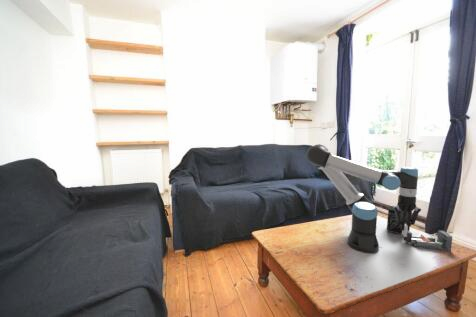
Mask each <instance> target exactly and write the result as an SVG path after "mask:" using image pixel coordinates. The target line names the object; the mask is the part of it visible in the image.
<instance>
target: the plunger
mask: <svg viewBox="0 0 476 317" xmlns="http://www.w3.org/2000/svg"><path fill="white" fill-rule="evenodd" d="M412 236H413V233H412V231H410V230H409V231H408V232H407V237H404V236H403V241H404V242H405V243H407V244H411V243H416V240H417V241H424V240H422V239H420V238H412Z"/></svg>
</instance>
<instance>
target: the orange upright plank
mask: <svg viewBox="0 0 476 317" xmlns="http://www.w3.org/2000/svg"><path fill="white" fill-rule="evenodd" d="M420 237H423V238H421V239H422V240H424V241H426V242H429V241H430V240H428V239H427V238H426V237H427V236H425V235H423V234H420Z"/></svg>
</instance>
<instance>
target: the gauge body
mask: <svg viewBox="0 0 476 317" xmlns="http://www.w3.org/2000/svg"><path fill="white" fill-rule="evenodd" d="M425 237H426V238H427V239H428V240H430V241H429V242H426V241H417V240H416V243H410V245H412V246H413V247H414V248H417V249H427V250H428V249H429V250H438V251H447V252H452V244H453V236H452V235H450V234H449V233H448V232H446V231H444V230H439V229H438V231H437V238H436V237H432V236H429V237H427V236H425ZM412 238H420V239H421V238H423V237H422V236H417V235H412ZM436 240H437V241H436Z"/></svg>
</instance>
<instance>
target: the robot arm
mask: <svg viewBox="0 0 476 317" xmlns="http://www.w3.org/2000/svg"><path fill="white" fill-rule="evenodd" d="M305 158H306V160H307V162H309V163H310V164H312V165H314V166H316V168H317V169H318V170H322V172H323V173H324V174H325V175H326V176H327V178H328V179H329V181H330V182H331V183H332V184H333V186H335V188H336V189H337V191H338V192H339V193H340V194H341V195H342V197H343V198H344V199H345V200H346V201H345V204H346V205H347V207H348V208H349V210H350V211H351V215H352V216H351V230H350V232H349V234H348V236H347V239H346V240H347V245H348V246H349V247H350V248H351V249H354V250H356V251H359V252H361V253H362V252H363V253H369V254H370V253H371V254H373V253H377V252H378V251H379V250H380V249H379V248H380V245H379V241H378V238H377V234H376V233H377V221H378V220H377V219H378V208H377V206H376V205H375V204H374V203H373V202H372V201H371V200H370V199H368V197H367V196H365V194H364V193H363V192H359V191H358V190H357V188H356V187H355V186H354V184H352V183H351V181H350V180H349V179H348V177H347V176H346V175H345V174H348V175H350V176H353V177H356V178H358V179H362V180H364V181H367V182H370V183H372V184H375V185H378V186H381V187H383V188H385V189H387V190H389V191H394V190H398V189H399V190H398V193H399V195H398V202H397V204H396V205H392V207H393V209H394V210H395V215H396V220H397V222H398V223H399V224H401V227H400V228H401V230H402V234H401V235H402V236H403V238H404V237H407V232H408V231H410V227H411V226H414V225H415V223H416V220H417V218H418V216H419V213H420V212H421V211H422V209H421V208H420V207H418V206H417V204H416V203H417V190H418V181H419V180H418V179H419V169H418V168H416V167H411V166H402V167H401V168H400V170H391V169H377V168H375V167H371V166H368V165H365V164H362V163H360V162H356V161H353V160H349V159H347V158H344V157H340V156H338V155H334V154H333V153H332V152H330V151H329V149H328V148H327V147H326V146H325V145H322V144H315V145H312V146H311V147H309V148H308V149H307V151H306V153H305ZM399 208H400V209H401V219H400V215H399V211H398V209H399ZM405 217H406V224H405Z"/></svg>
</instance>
